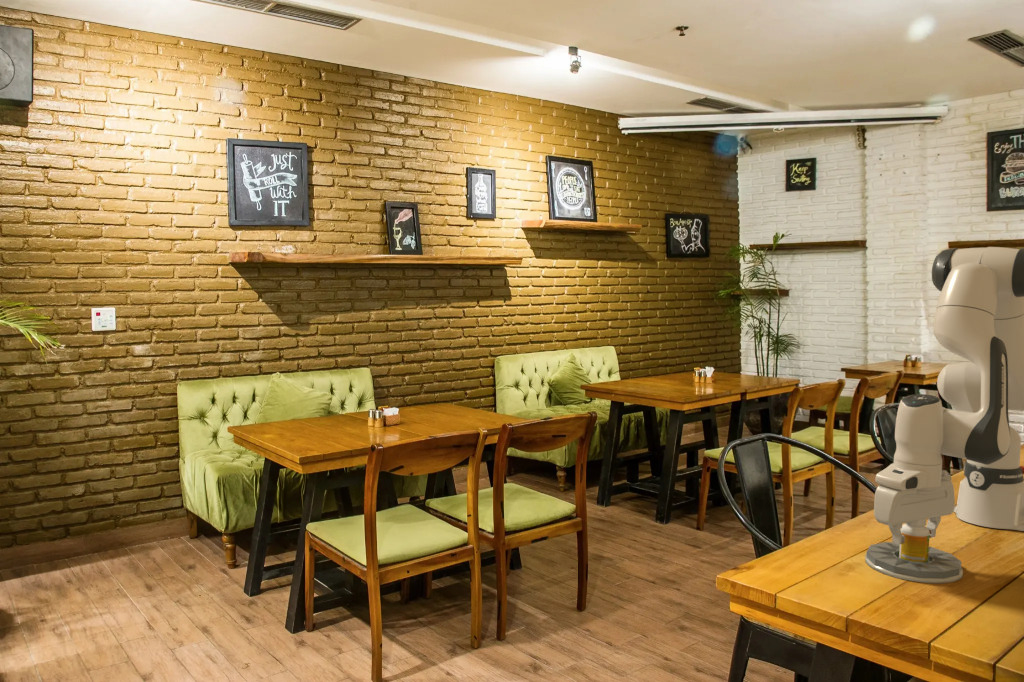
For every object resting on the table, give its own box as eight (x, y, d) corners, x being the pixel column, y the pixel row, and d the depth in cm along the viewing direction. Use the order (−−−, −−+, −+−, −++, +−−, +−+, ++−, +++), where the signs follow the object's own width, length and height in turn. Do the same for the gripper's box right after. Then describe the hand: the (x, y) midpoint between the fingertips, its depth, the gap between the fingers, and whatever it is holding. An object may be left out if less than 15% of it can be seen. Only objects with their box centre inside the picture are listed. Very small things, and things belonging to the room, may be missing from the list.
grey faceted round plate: (904, 546, 173) (904, 537, 173) (982, 574, 157) (983, 563, 157) (846, 558, 166) (846, 548, 165) (922, 589, 149) (923, 578, 149)
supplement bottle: (931, 568, 158) (934, 521, 157) (903, 566, 159) (905, 519, 158) (923, 559, 163) (925, 513, 163) (895, 557, 164) (897, 512, 164)
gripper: (936, 465, 167) (933, 528, 168) (869, 475, 158) (866, 542, 159) (964, 472, 161) (961, 537, 163) (896, 483, 153) (893, 552, 154)
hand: (914, 540), depth 161 cm, fingers open, 8 cm apart
